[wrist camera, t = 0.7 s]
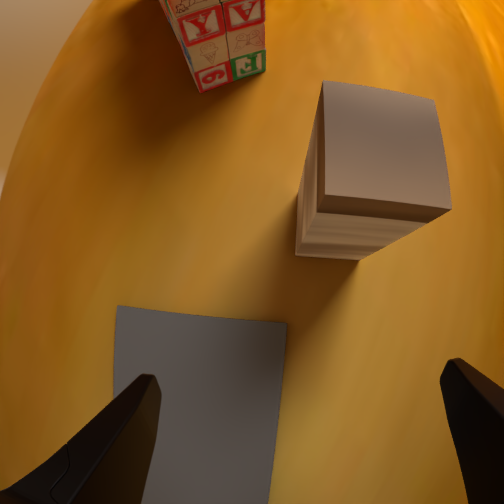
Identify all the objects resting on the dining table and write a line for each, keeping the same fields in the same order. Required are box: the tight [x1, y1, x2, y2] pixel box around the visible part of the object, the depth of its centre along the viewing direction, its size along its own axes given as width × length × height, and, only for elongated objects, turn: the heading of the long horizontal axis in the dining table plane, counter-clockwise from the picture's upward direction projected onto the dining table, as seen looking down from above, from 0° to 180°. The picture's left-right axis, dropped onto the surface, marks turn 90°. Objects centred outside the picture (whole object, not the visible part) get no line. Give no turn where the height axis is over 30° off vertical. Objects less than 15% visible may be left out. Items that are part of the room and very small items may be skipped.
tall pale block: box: [295, 80, 452, 260], centre depth 16 cm, size 5×5×12 cm
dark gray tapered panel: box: [114, 306, 287, 504], centre depth 20 cm, size 18×12×1 cm, turn 176°
